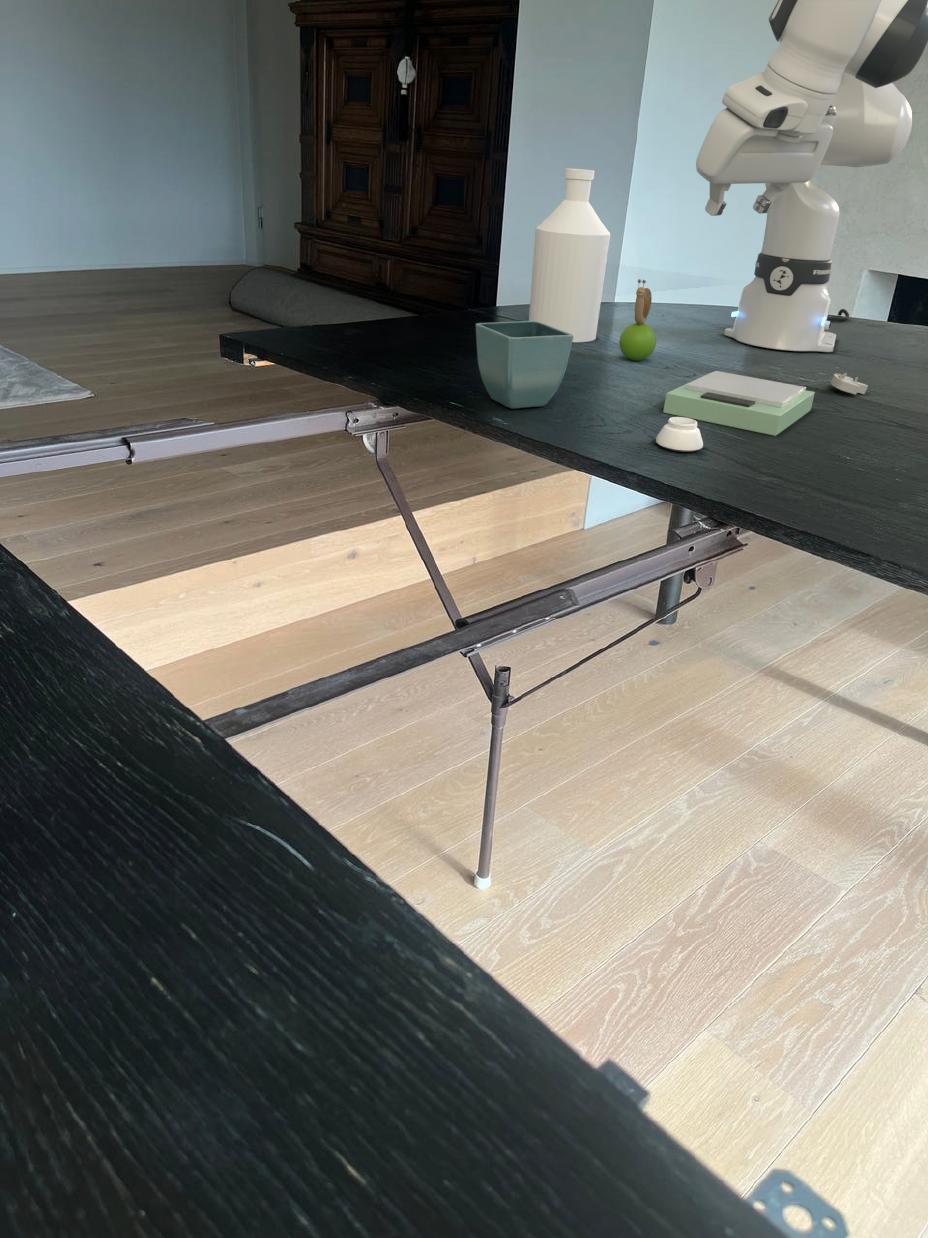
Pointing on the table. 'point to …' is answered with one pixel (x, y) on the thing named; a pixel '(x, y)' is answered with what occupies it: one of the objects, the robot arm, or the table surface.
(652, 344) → the snail figurine
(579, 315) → the bottle
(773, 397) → the scale
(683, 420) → the lidless jar
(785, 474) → the table surface
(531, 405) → the flower pot
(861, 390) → the game controller
